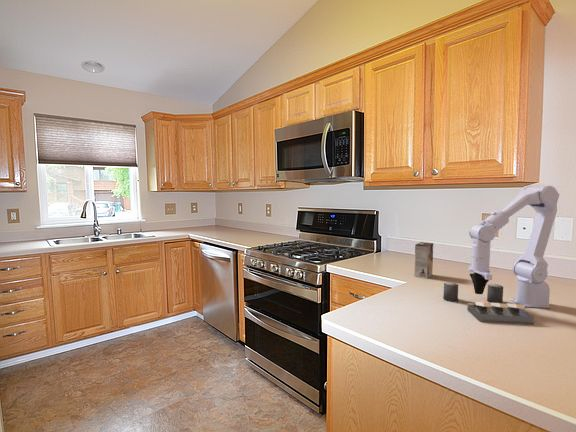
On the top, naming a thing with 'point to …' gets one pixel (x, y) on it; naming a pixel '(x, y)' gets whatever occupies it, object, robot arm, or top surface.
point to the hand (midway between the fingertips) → (478, 293)
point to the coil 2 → (495, 293)
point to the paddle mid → (499, 305)
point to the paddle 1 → (483, 304)
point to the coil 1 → (450, 292)
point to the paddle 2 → (516, 305)
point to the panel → (500, 314)
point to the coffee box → (423, 260)
